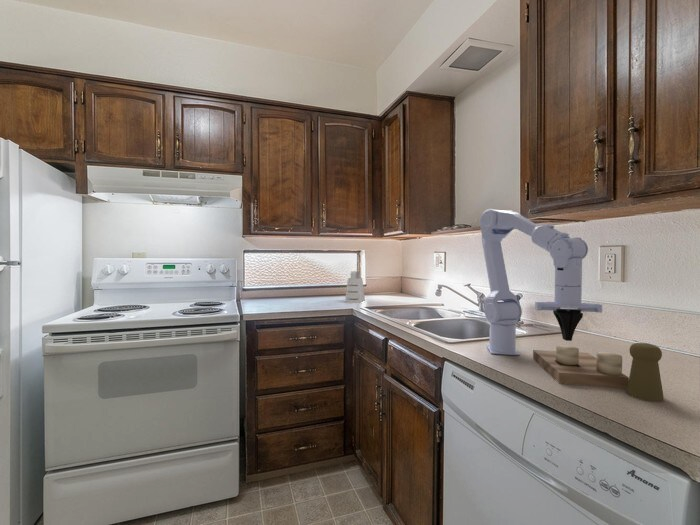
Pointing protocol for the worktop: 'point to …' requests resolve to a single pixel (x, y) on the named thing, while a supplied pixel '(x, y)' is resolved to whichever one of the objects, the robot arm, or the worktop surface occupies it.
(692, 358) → the worktop surface
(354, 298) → the grater
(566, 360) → the peg
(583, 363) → the board
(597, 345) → the worktop surface
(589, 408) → the worktop surface
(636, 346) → the olive pawn piece
